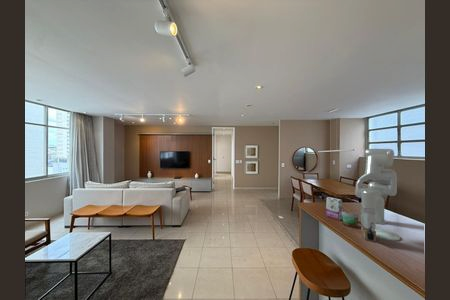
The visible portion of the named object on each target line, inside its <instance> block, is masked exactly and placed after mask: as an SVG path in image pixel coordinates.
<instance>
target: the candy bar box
mask: <svg viewBox="0 0 450 300" xmlns="http://www.w3.org/2000/svg"><path fill="white" fill-rule="evenodd" d="M325 203H326V204H325V216H326V217H327V216H328V217H327V218H330V217H331V218H330V219H333V218H334V219H333V220H337V221H343V215H342V214H341V213H342V210H343V199H341V198H336V197H332V196H331V197H330V196H328V197H326V198H325Z"/></svg>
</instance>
